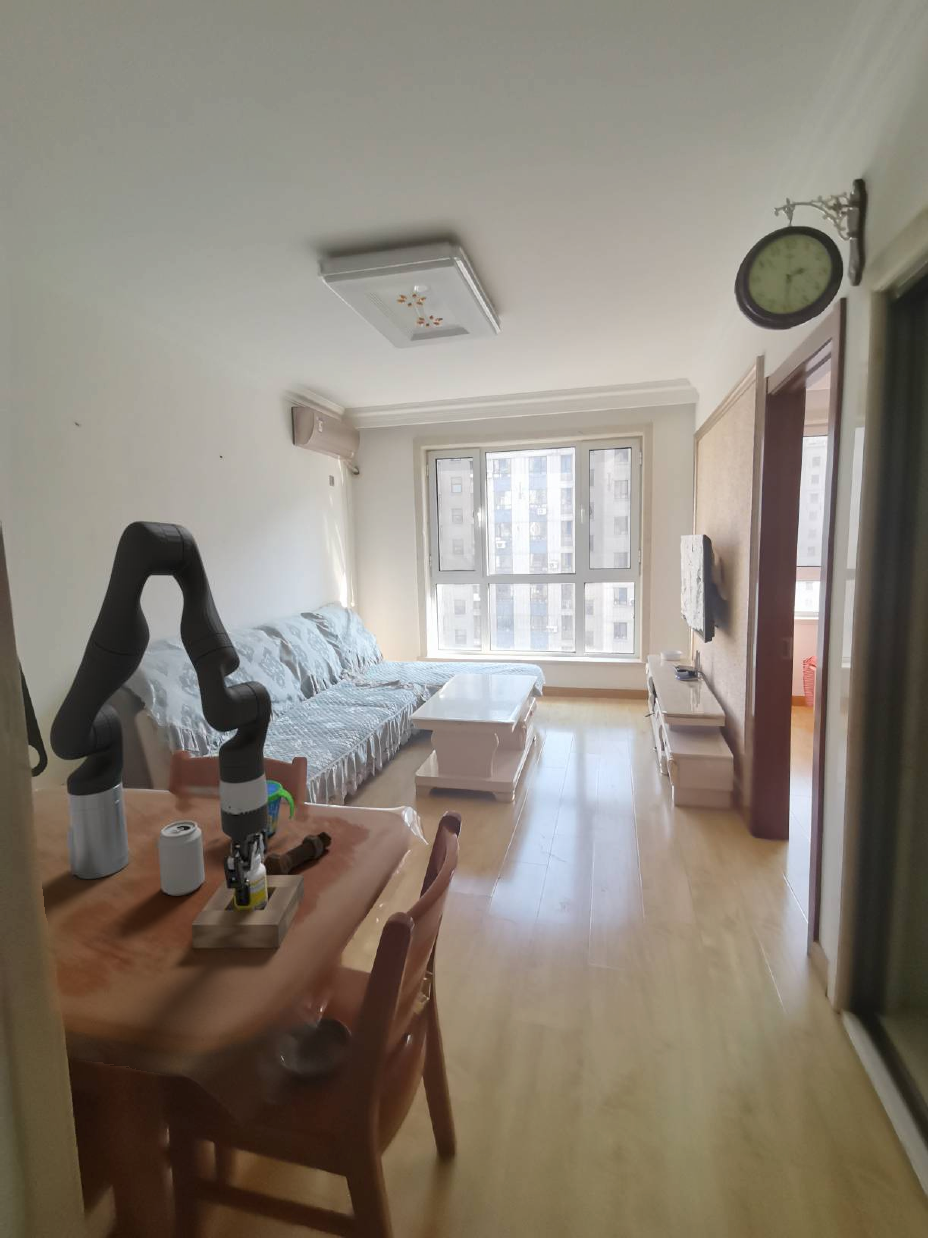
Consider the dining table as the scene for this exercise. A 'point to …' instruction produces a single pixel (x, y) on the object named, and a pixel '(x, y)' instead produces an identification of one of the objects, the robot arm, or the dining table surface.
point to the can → (181, 858)
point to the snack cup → (276, 804)
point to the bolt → (297, 854)
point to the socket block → (249, 917)
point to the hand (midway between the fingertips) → (250, 893)
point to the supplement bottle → (256, 886)
